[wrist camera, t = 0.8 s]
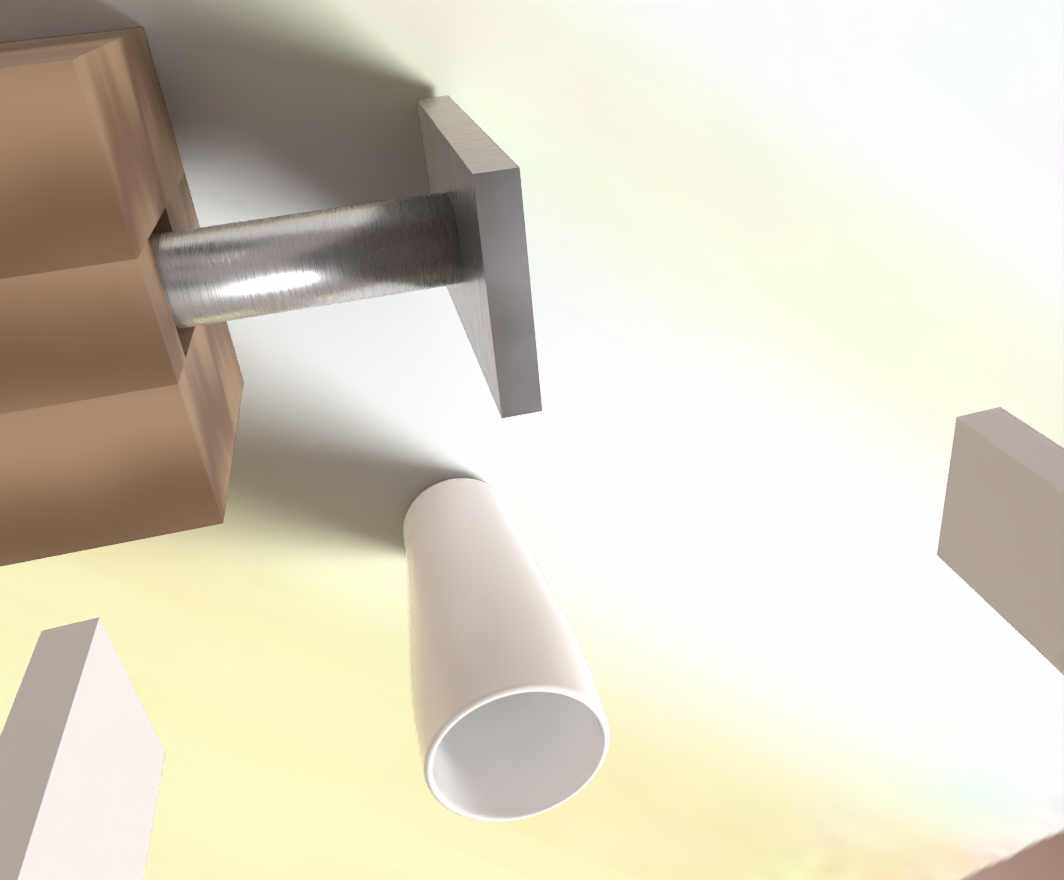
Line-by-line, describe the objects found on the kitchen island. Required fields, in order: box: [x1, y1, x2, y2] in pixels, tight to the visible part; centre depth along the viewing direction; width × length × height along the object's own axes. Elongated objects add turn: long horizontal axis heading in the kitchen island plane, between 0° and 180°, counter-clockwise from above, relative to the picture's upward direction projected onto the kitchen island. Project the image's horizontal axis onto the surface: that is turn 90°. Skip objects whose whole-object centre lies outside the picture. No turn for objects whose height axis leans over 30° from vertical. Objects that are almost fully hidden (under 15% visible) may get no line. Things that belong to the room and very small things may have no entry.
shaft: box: [148, 96, 542, 418], centre depth 28 cm, size 7×24×13 cm, turn 95°
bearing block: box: [0, 27, 244, 566], centre depth 29 cm, size 14×8×11 cm, turn 5°
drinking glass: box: [403, 478, 610, 822], centre depth 37 cm, size 7×7×15 cm
